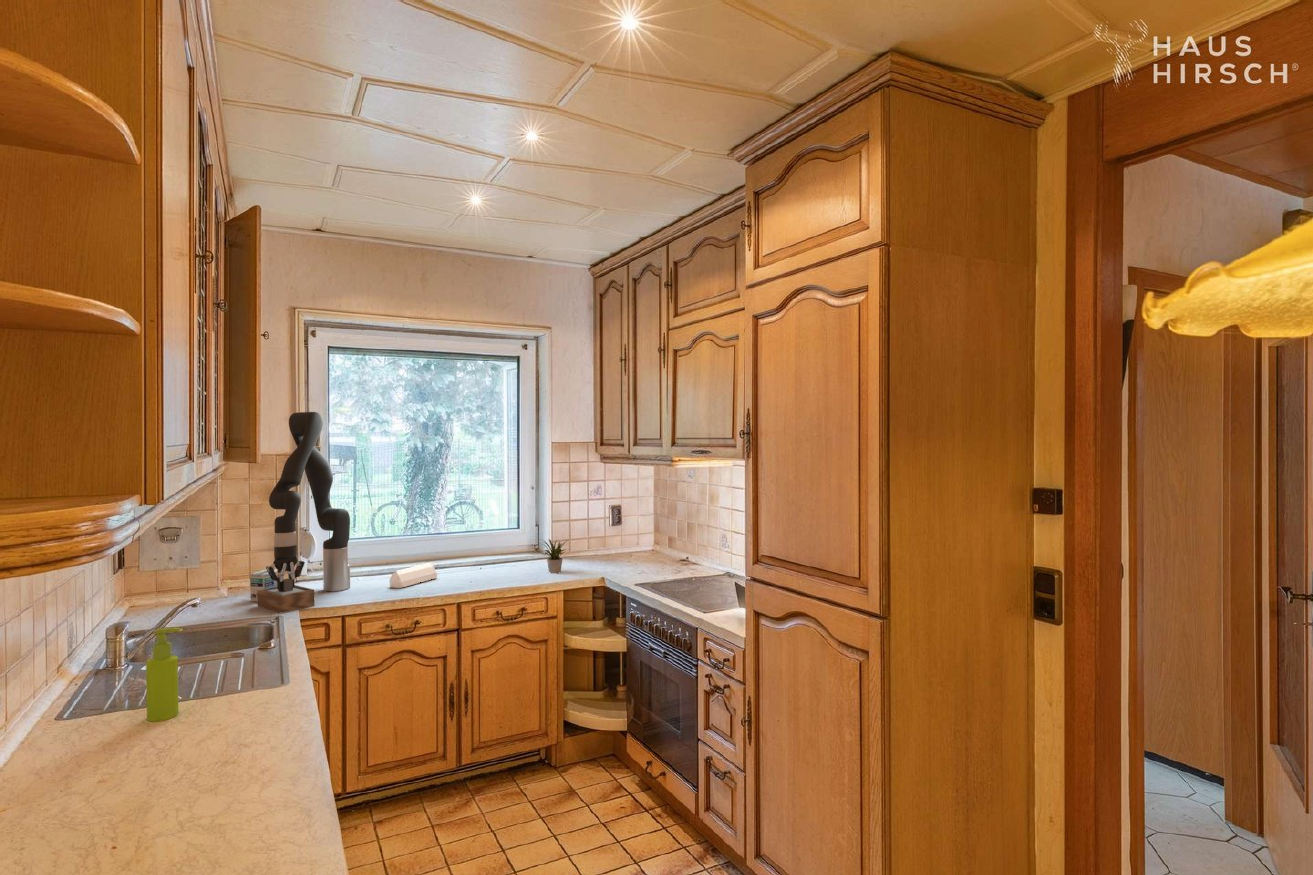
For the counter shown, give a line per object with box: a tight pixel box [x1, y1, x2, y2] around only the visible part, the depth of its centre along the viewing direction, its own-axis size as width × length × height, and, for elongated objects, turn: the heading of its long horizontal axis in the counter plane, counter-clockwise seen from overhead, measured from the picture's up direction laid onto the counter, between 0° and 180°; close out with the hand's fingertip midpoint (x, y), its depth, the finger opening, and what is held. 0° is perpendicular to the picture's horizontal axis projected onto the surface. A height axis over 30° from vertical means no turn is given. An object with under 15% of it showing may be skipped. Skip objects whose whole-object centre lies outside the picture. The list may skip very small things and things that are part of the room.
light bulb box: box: [249, 568, 285, 602], centre depth 274 cm, size 11×7×11 cm, turn 168°
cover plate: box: [267, 578, 305, 595], centre depth 262 cm, size 8×12×5 cm, turn 55°
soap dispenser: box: [145, 626, 184, 722], centre depth 161 cm, size 6×7×20 cm
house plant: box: [539, 536, 568, 574], centre depth 322 cm, size 14×14×16 cm
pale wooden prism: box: [388, 562, 438, 589], centre depth 302 cm, size 7×7×24 cm
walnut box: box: [256, 584, 315, 614], centre depth 262 cm, size 13×17×6 cm
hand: (285, 590), depth 262 cm, fingers closed on cover plate, 3 cm apart
